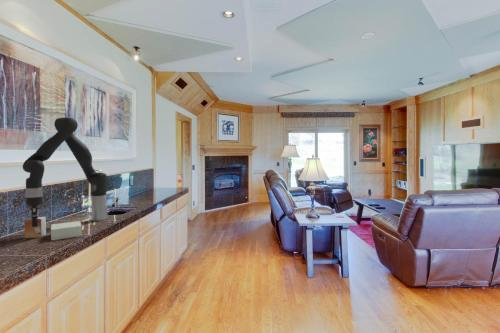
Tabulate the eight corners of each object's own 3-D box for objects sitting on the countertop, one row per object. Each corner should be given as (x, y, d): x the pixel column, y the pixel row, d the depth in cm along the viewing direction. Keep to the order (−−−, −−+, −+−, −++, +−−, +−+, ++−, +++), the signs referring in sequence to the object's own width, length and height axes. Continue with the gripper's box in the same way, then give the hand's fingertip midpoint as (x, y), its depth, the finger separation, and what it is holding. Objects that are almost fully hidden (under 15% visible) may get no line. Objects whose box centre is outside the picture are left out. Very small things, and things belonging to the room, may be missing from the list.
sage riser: (80, 230, 165) (80, 221, 165) (82, 236, 153) (81, 225, 153) (51, 234, 157) (51, 224, 156) (51, 241, 145) (50, 229, 145)
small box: (24, 238, 148) (23, 219, 148) (29, 235, 154) (29, 217, 153) (41, 237, 150) (41, 218, 150) (46, 234, 156) (45, 216, 155)
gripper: (42, 196, 148) (43, 226, 148) (42, 194, 159) (43, 221, 160) (24, 198, 143) (25, 228, 144) (26, 195, 155) (26, 223, 155)
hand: (34, 225), depth 152 cm, fingers open, 8 cm apart
